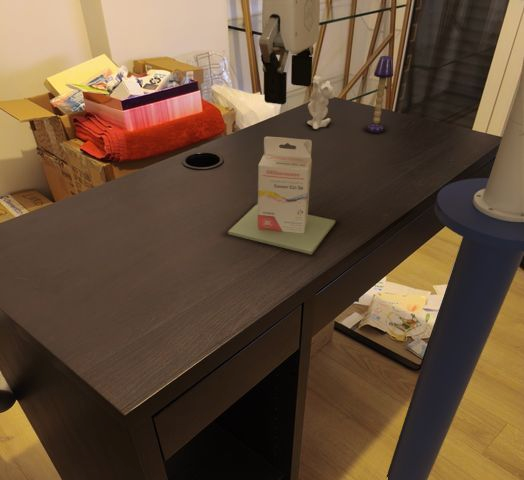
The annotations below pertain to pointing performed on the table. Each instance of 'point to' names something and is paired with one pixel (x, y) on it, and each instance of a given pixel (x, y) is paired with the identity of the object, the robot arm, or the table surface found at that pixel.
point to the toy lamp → (380, 90)
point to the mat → (289, 240)
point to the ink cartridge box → (284, 185)
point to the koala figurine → (320, 102)
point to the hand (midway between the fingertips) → (288, 93)
